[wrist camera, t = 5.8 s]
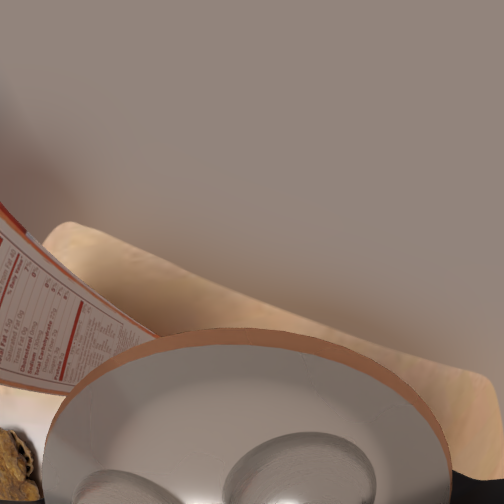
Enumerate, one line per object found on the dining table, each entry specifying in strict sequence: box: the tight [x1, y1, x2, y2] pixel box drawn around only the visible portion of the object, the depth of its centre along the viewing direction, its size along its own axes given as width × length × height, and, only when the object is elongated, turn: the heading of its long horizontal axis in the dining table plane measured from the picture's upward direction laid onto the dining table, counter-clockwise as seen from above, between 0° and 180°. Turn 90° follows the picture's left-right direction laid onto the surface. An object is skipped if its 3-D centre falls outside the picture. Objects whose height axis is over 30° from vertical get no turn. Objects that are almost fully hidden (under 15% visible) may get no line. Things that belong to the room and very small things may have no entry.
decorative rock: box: [0, 428, 40, 501], centre depth 12 cm, size 11×4×15 cm
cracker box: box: [0, 202, 160, 397], centre depth 13 cm, size 14×6×21 cm, turn 80°
